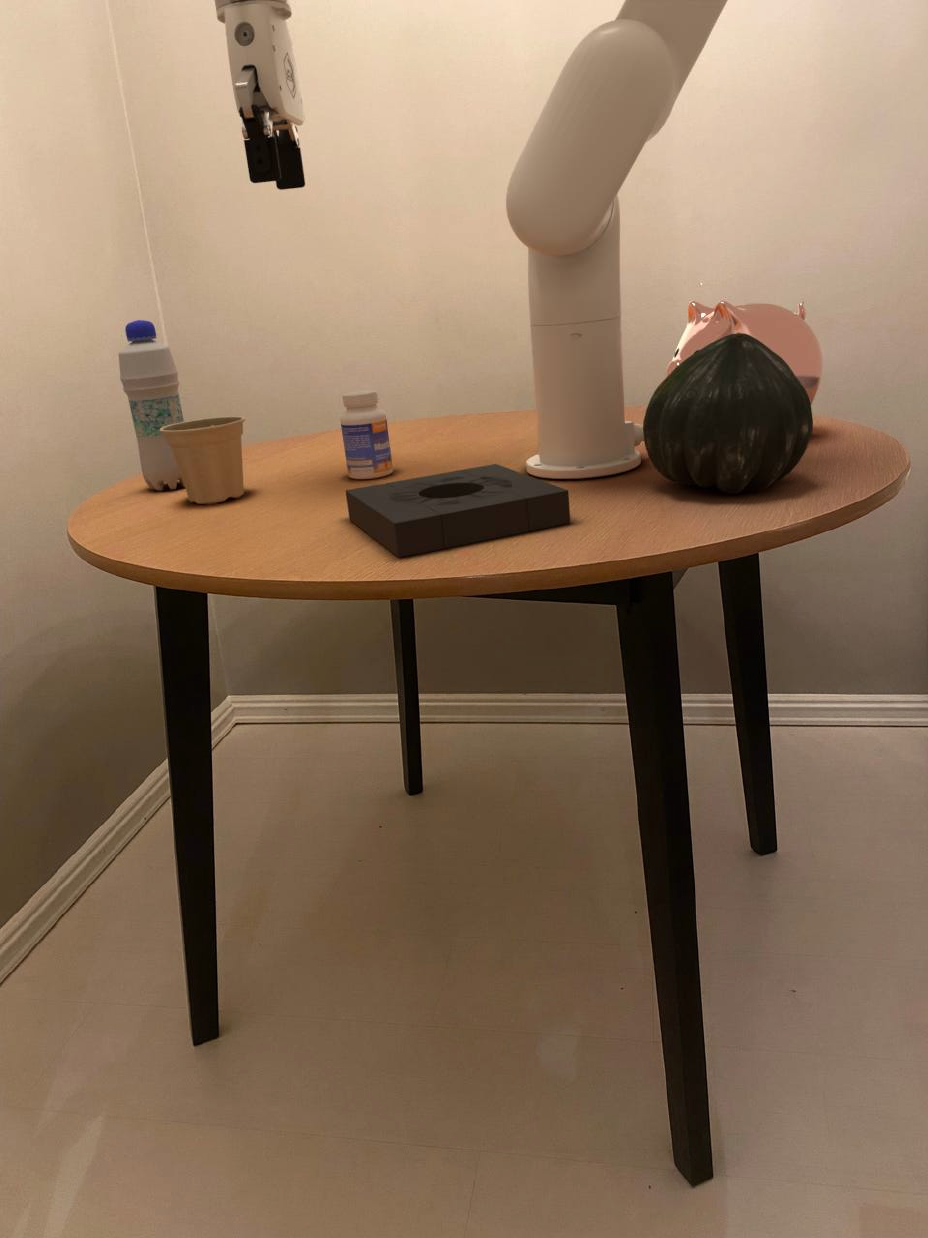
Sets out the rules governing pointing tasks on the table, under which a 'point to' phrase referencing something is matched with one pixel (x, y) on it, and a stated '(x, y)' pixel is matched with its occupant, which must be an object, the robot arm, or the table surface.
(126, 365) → the bottle
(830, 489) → the table surface
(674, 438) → the squash
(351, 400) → the pill bottle
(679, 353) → the piggy bank
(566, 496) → the pad
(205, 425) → the flower pot
